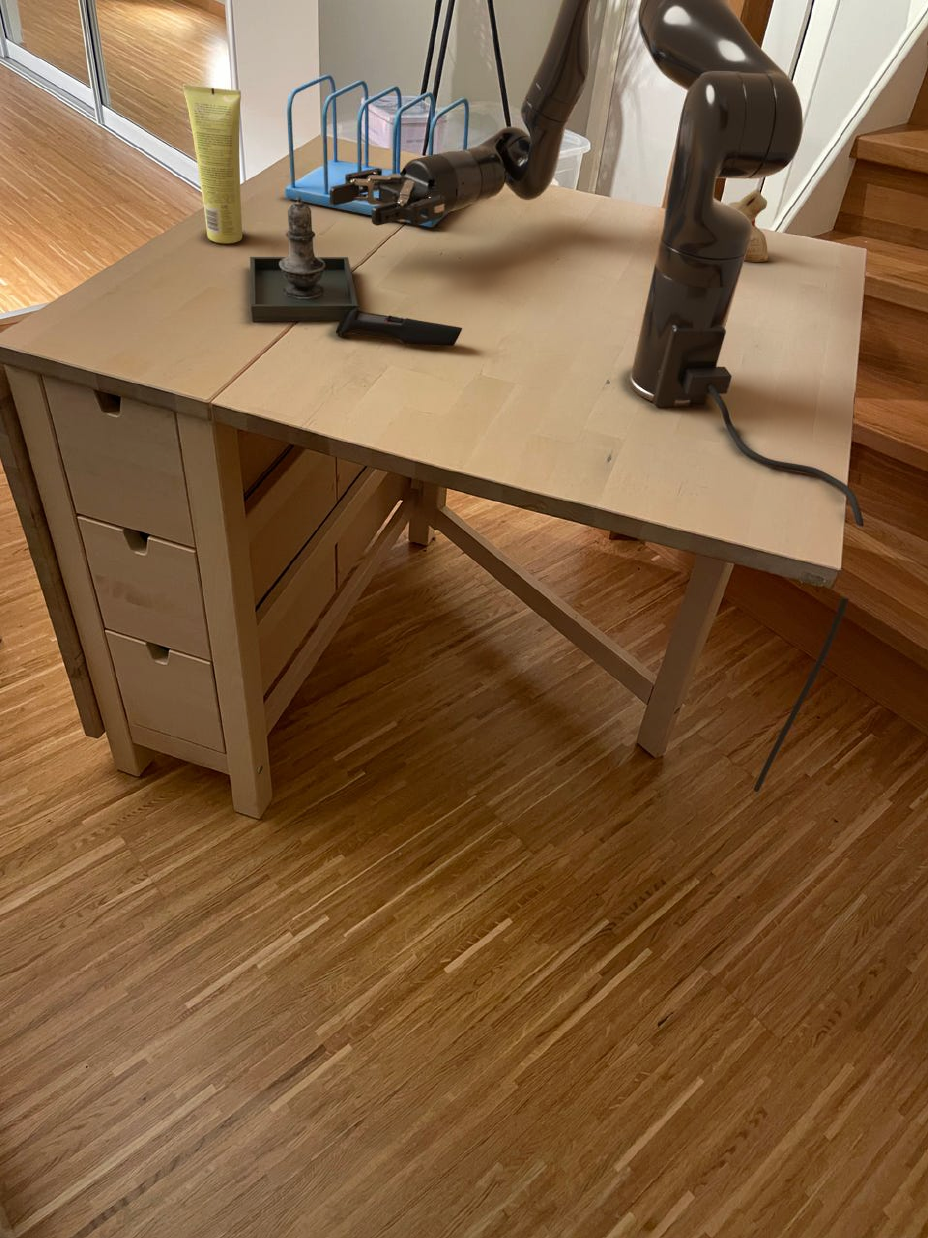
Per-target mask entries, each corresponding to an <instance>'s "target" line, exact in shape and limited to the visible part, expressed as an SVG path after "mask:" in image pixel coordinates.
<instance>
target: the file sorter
mask: <svg viewBox="0 0 928 1238" xmlns="http://www.w3.org/2000/svg"><path fill="white" fill-rule="evenodd" d="M326 80H328V81H329V82H330V85H331V94H329V95H328V96H327V97H326V98H325V101H324V104H323V108H322V115H321V117H322V119H321V124H322V127H321V129H322V156H323V157H322V159H323V160H322V163H323V164H322V165H321V166H318V167H317V168H315V169H314V170H311V172H308V173H307V174H305V175H304V176H302V177H300V178H298V179H297V180H296V172H295V153H294V136H293V133H294V132H293V118H292V117H293V116H292V107H293V102H294V98H295V96H296V95H297V94H298V93H301V92H302V91H304V90H306V89H308V88H310V87H313V86H315V85H317V84H319V83H322V82H324V81H326ZM360 86H362V88H363V92H364V101H363V102H362V103H361V105H360V107H359V111H358V113H357V124H356V132H357V133H356V142H357V143H356V144H357V145H356V146H357V147H356V149H357V150H356V151H357V152H356V153H357V154H356V155H357V159H356V160H357V162H352V161H346V160H345V161H344V160H341V159H338V121H337V120H338V119H337V98H338V97H340V96H342V95H344V94H345V93H347V92H349V91H352V90H353V89H356V88H358V87H360ZM393 92H395V93H396V97H397V112H396V114H395V117H394V121H393V126H392V127H393V128H392V163H391V165H392V166H391V169H388V168H383V167H378V166H372V165H370V164H369V160H370V159H369V156H370V155H369V148H370V147H369V146H370V144H369V143H370V141H369V140H370V139H369V138H370V137H369V135H370V134H369V132H370V131H369V129H370V128H369V127H370V126H369V119H370V118H369V117H370V114H369V113H370V111H369V110H370V109H369V108H370V106H369V105H370V104H372V103H374V102H376V101H378V100H380V99H381V98H383V97H385V96H387V95H388V94H391V93H393ZM427 98H429V99H430V125H429V127H430V128H429V136H428V153H427V156H430V155H434V148H435V147H434V145H435V130H436V129H435V128H436V125H437V122H438V120H439V119H440V118H442V117H443V116H444V115H446V114H447V113H449V112H451V111H452V110H453V109H455V108H457V107H458V106H460V105H462V104H463V105H464V123H463V124H464V125H463V128H464V129H463V142H462V150H466V149H468V137H469V123H470V122H469V119H470V106H469V105H470V104H469V101H468V99H467V98H465V97H460V98H459V99H458V100H456V101H454V102H453V103H451V104H449V105H448V106H445V108H443V109H442V110H440V111H439V112H437V113H436V100H435V95H434V94H433V92H431V91H427V92H425V93H423V94H421V95H419V96H417V97H415V98H413V99H412V100H411V101H409V102H407V103H406V104H404V105H402V103H403V101H402V100H403V99H402V93H401V89H400V87H399V86H397V85H393V86H391V87H388V88H386V89H384V90H383V91H381V92H378V93H377V94H375V95H373V96H371V97H369V88H368V85H367V82H366V81H365V80H357V81H355V82H353V83H351V84H349V85H347V86H344V87H343V88H341V89H338V90H337V91H336V83H335V80H334V77H333V76H331V75H330V74H324V75H321V76H319V77H316V78H314V79H312V80H310V81H308V82H305V83H304V84H301V85H299V86H297V87H295V88H293V90H291V91H290V94H289V96H288V99H287V107H286V117H287V118H286V119H287V137H288V156H289V175H290V184H289V185H287V186H285V198H286V199H289V200H293V201H297V200H296V199H297V197H298V196H300V197H301V199H302V200H301V202H302V203H308V204H314V205H319V206H323V207H327V208H333V209H338V210H344V211H348V212H353V213H359V214H364V215H369V216H372V209H373V207H375V206H378V205H371V204H369V203H368V201H358V200H356V201H352V202H348V203H344V204H340V205H336V206H335V205H333V204H331V203H330V188H331V187H333V186H337V185H342V184H345V175H346V174H351V173H356V172H361V171H366V170H371V169H376V168H379V169H381V170H382V176H388V175H390V174H400V173H401V172H402V171H401V157H402V155H401V154H402V153H401V152H402V149H401V148H402V115H403V113H404V112H405V111H407V110H409V109H410V108H412V107H413V106H415V105H417V104H418V103H420V102H422V101H423V100H425V99H427ZM331 102H332V103H331ZM330 103H331V107H332V109H331V110H332V137H333V139H332V141H333V142H332V143H333V159H330V160H329V161H328V127H327V126H328V124H327V123H328V122H327V119H328V109H329V105H330ZM363 116H364V164H362V163H363V160H362V159H363V158H362V157H363V152H362V149H363V148H362V137H363V135H362V133H363V131H362V129H363V128H362V127H363V123H362V122H363ZM367 193H368V192H366V193H361V194H367ZM374 197H375V198H379V190H377V191H376V192H374ZM449 213H450V212H447V213H444V216H443V217H441V218H438V219H435V220H432V221H429V222H426V223H423V224H420V225H419V226H423V227H429V228H434V227H435V225H436V224H438V223H439V222H440V221H441V220H442V219H443V218H444V217H446V216H447V215H448V214H449ZM405 223H409V224H410V220H406V222H405Z"/></svg>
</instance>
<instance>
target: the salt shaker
mask: <svg viewBox="0 0 928 1238" xmlns="http://www.w3.org/2000/svg"><path fill="white" fill-rule="evenodd" d="M301 200H302V199H301V197H300V196H298V197H297V199H296V200H295V201H296V202H294V203H292V204H291V205H289V207H288V209H287V217H288V218H287V219H288V220H287V221H288V230H287V231H286V232H285V235H286V237H287V238H288V249H289V250H288V255H287V256H284V257H285V258H283V259H282V260H281V261H280V262H279V266H280V268H281V269H282V273H283V275H284V277H285V279H286V280H287V281H288V282H289V283H288V284H287V285H285V287H284V288H283V292H284V294H285V295H287V296H289V297H291V298H295V299H313V298H317V297H319V296H321V295H322V294H323V291H324V290H323V288H322V287H321V286H320V285H319V284H317V282H318V281H319V280H320V279H321V276H322V273H323V269H324V268H325V263H324V261H323V260H321V259H320V258H318V257H319V256H316V255H315V250H314V238H315V237H316V232H314V231H313V222H312V221H313V220H312V209H311V207H310V206H309V205H308V204H306V203H305V202H303V201H301Z"/></svg>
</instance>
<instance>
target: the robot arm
mask: <svg viewBox="0 0 928 1238" xmlns="http://www.w3.org/2000/svg"><path fill="white" fill-rule="evenodd" d="M591 3H592V0H561V2H560V5H559V8H558V12H557V15H556V18H555V22H554V24H553V27H552V31H551V34H550V37H549V40H548V42H547V45H546V48H545V50H544V53H543V55H542V58H541V60H540V63H539V65H538V67H537V69H536V71H535V74H534V76H533V78H532V80H531V82H530V84H529V87H528V89H527V91H526V93H525V95H524V98H523V100H522V102H521V106H520V111H519V112H520V117H521V119H522V120H521V121H522V122H523V124H524V125H525V127H526V129H527V131H528V133H527V132H526V131H525V130H524V129H522V128H520V127H517V126H506V127H503V128H501V129H500V130H499V131H497V132H496V133H495V134H493V135H492V136H491V137H489V138H488V139H486V140H484V141H483V142H482V143H480V144H479V145H477V146H475V147H470V148H467V149H466V150H463V149H461V150H451V151H450V150H449V151H443V152H439V153H436V154H433V155H430V156H428V155H426V156H422V157H418V158H414V159H413V158H412V159H411V160H409V161H408V162H407V163H406V164H405V165H404V167H403V168H402V169H401V171H400V172H401V173H400V174H390V175H388V176H382V170H381V169H379V168H380V167H379V168H376V169H371V170H366V171H361V172H356V173H351V174H346V175H345V184H342V185H337V186H333V187H331V188H330V203H331V204H333V205H335V206H336V205H340V204H344V203H348V202H352V201H356V200H358V201H368V203H369V204H371V205H378V206H375V207H373V209H372V215H371V223H372V224H373V225H375V226H377V227H378V226H383V225H386V224H390V223H393V222H396V221H397V222H398V223H407V222H406V220H410V223H409V225H411V226H413V227H414V226H421V225H420V224H423V223H426V222H429V221H432V220H435V219H438V218H441V217H443V216H444V213H447V212H449V213H451V212H455V211H457V210H460V209H463V208H465V207H467V206H469V205H471V204H475V203H479V202H482V201H486V200H489V199H491V198H494V197H496V196H497V195H499V194H500V193H501V192H502V190H503V188H504V186H505V185H506V186H507V187H508V188H509V189H510V190H511V192H512V193H513V194H515V196H516V197H518V198H519V199H521V200H523V201H532V200H535V199H537V198H539V197H540V196H542V195H543V194H544V193H545V192H546V191H547V190H548V188H549V187H550V185H551V183H552V181H553V179H554V176H555V173H556V171H557V167H558V163H559V158H560V154H561V149H562V146H563V145H562V144H563V141H564V136H565V131H566V129H567V125H568V123H569V121H570V119H571V118H572V116H573V113H574V111H575V109H576V107H577V105H578V104H579V101H580V99H581V97H582V96H583V93H584V91H585V89H586V86H587V82H588V80H589V79H588V78H589V74H590V68H591V67H590V66H591V55H590V54H591V48H590V28H589V27H590V10H591ZM637 15H638V16H637V21H638V31H639V33H640V36H641V39H642V41H643V44H644V46H645V48H646V49H647V51H648V53H649V55H650V58H651V60H652V62H653V63H654V65H655V66H656V67H657V69H658V70H659V71H660V72H661V73H662V75H664V76H665V77H666V78H667V79H668V80H670V81H671V82H673V83H675V84H676V85H677V86H678V87H681V88H683V89H684V90H686V91H687V92H686V96H685V98H684V101H683V104H682V108H681V113H680V117H679V121H678V129H677V133H676V138H675V139H676V140H675V145H674V152H673V159H672V165H671V171H670V175H669V182H668V187H667V191H666V196H665V197H666V198H665V206H664V207H665V208H664V218H663V219H664V220H663V225H662V231H661V235H660V240H659V243H658V249H657V253H656V257H655V263H654V266H653V270H652V271H653V272H652V276H651V281H650V285H649V289H648V294H647V298H646V303H645V308H644V313H643V317H642V321H641V326H640V331H639V334H638V340H637V344H636V350H635V354H634V358H633V359H634V360H633V364H632V368H631V370H630V373H629V378H628V383H629V386H630V388H631V389H632V390H633V392H635V393H636V394H637V395H638V396H640V397H642V398H644V399H646V400H648V401H650V402H652V403H653V405H654V406H655V407H657V408H662V407H664V408H665V407H666V408H667V407H668V408H669V407H699V406H706V405H707V404H706V403H707V400H708V396H709V395H711V396H712V398H713V399H714V400H715V402H716V404H717V406H718V407H719V409H720V411H721V415H722V418H723V422H724V424H725V427H726V429H727V431H728V432H729V434H730V436H731V438H732V440H733V441H734V442H735V445H736V446H737V448H738V449H739V450H740V451H741V452H742V453H743V454H744V455H746V456H748V457H749V458H751V459H752V460H754V461H757V462H758V463H760V464H763V465H766V466H769V467H773V468H777V469H780V470H781V469H782V470H787V471H788V470H789V471H795V472H800V473H805V474H809V475H813V476H815V477H818V478H820V479H822V480H824V481H825V482H827V483H829V484H830V485H832V486H834V487H836V488H837V489H838V490H840V491H841V492H842V493H843V494H844V495H845V496H846V498H847V500H848V501H849V504H850V506H851V509H852V513H853V516H854V520H855V524H856V525H857V526H859V527H864V526H865V523H864V518H863V514H862V511H861V508H860V507H861V506H860V505H859V502H858V500H857V497H856V496H855V493H854V492H853V491H852V489H851V488H850V487H849V486H848V485H847V484H845V483H844V482H843V481H841V480H839V479H838V478H836V477H834V476H833V475H830V474H829V473H827V472H825V471H823V470H821V469H818V468H816V467H812V466H808V465H803V464H798V463H793V462H792V463H791V462H786V461H780V460H775V459H772V458H768V457H766V456H764V455H761V454H759V453H758V452H756V451H754V450H753V449H751V448H749V447H748V446H747V445H746V444H745V443H744V441H742V439H741V438H740V436H739V434H738V432H737V431H736V429H735V426H734V425H733V422H732V420H731V416H730V412H729V409H728V408H727V405H726V402H724V400H723V398H722V396H721V395H727V393H728V392H729V391H728V390H729V387H730V384H731V381H732V378H733V377H732V376H733V375H732V374H731V373H730V371H729V370H728V369H727V367H726V366H717V365H718V362H719V358H720V354H721V351H722V348H723V344H724V340H725V337H726V333H727V330H726V325H727V322H728V318H729V315H730V312H731V308H732V306H733V305H732V304H733V301H734V297H735V294H736V290H737V286H738V283H739V280H740V277H741V273H742V270H743V266H744V263H745V261H744V259H745V256H746V252H747V249H748V246H749V242H750V239H751V235H752V223H751V221H750V220H749V218H748V217H747V216H746V215H745V214H743V213H742V212H740V211H739V210H737V209H735V208H733V207H731V206H729V204H727V203H725V202H722V201H720V200H718V199H716V198H715V190H716V189H715V188H716V183H717V179H751V180H752V179H753V180H754V179H762V178H767V177H770V176H771V177H772V176H775V175H777V174H778V173H780V172H781V171H783V170H784V169H785V168H787V167H788V166H789V165H790V163H791V162H792V161H793V159H794V158H795V156H796V155H797V152H798V150H799V147H800V145H801V143H802V142H801V141H802V137H803V130H804V129H803V128H804V118H803V107H802V102H801V98H800V96H799V93H798V90H797V88H796V86H795V84H794V83H793V81H792V79H791V78H790V76H788V74H787V73H786V72H785V71H784V70H783V69H781V67H780V66H779V65H778V64H777V63H776V62H775V61H774V60H773V59H772V58H771V57H770V56H769V55H768V54H767V53H766V52H765V51H764V50H763V49H762V48H761V47H760V46H759V44H758V43H757V42H756V41H755V40H754V38H753V37H752V36H751V34H750V32H749V31H748V30H747V28H746V27H745V26H744V24H743V22H742V21H741V19H740V18H739V17H738V15H737V14H736V13H735V11H734V10H733V8H732V6H731V4H730V1H729V0H640V3H639V7H638V14H637ZM377 190H379V198H375V197H374V192H376V191H377ZM366 192H368V193H367V194H361V193H366ZM444 217H445V216H444ZM444 217H443V218H444ZM849 600H850V598H849V597H848V598H842V599H840V602H839V605H838V608H837V611H836V613H835V616H834V619H833V621H832V624H831V627H830V629H829V632H828V635H827V636H826V639H825V642H824V644H823V646H822V649H821V650H820V653H819V655H818V657H817V659H816V661H815V664H814V665H813V668H812V670H811V672H810V674H809V676H808V678H807V680H806V682H805V684H804V685H803V688H802V690H801V692H800V695H798V698H797V700H796V702H795V704H794V706H793V708H792V710H791V712H790V713H789V716H788V717H787V719H786V721H785V724H784V725H783V727H782V729H781V731H780V733H779V735H778V737H777V739H776V741H775V743H774V744H773V747H772V749H771V751H770V753H769V755H768V757H767V760H766V762H765V763H764V765H763V768H762V770H761V772H760V774H759V776H758V778H757V780H756V782H755V785H754V787H753V791H754V792H755V793H759V792H760V790H761V788H762V786H763V784H764V781H765V779H766V777H767V774H768V772H769V770H770V768H771V767H772V765H773V762H774V760H775V758H776V756H777V754H778V752H779V751H780V748H781V747H782V744H783V742H784V741H785V739H786V736H787V735H788V733H789V731H790V729H791V727H792V725H793V724H794V721H795V720H796V717H797V716H798V713H799V712H800V710H801V708H802V706H803V704H804V702H805V700H806V698H807V697H808V694H809V693H810V692H811V691H810V690H811V688H812V686H813V684H814V683H815V681H816V678H817V676H818V674H819V673H820V671H821V668H822V666H823V664H824V662H825V660H826V658H827V656H828V654H829V651H830V649H831V646H832V644H833V641H834V640H835V638H836V635H837V633H838V630H839V628H840V624H841V622H842V619H843V617H844V614H845V611H846V609H847V605H848V602H849Z"/></svg>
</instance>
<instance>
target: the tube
mask: <svg viewBox="0 0 928 1238" xmlns="http://www.w3.org/2000/svg"><path fill="white" fill-rule="evenodd" d="M182 88H183V90H182V91H183V93H184V94H183V95H184V97H185V101H186V106H187V111H188V115H189V121H190V126H191V133H192V137H193V143H194V151H195V155H196V161H197V162H196V163H197V168H198V174H199V175H198V176H199V182H200V190H201V196H202V197H201V198H202V205H203V212H204V220H205V227H206V236H207V239H209V240H210V241H212V242H214V243H216V244H217V243H218V244H234V243H237V242H240V241H241V240H242V239H243V224H242V222H243V221H242V220H243V219H242V199H241V196H242V195H241V167H240V166H241V165H240V164H241V163H240V162H241V161H240V116H241V115H240V113H241V99H242V92H241V90H239V89H229V88H228V89H227V88H219V87H210V86H201V85H194V84H185V83H183V84H182Z"/></svg>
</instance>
